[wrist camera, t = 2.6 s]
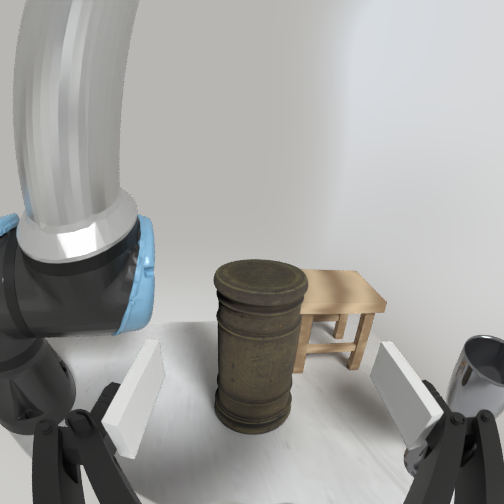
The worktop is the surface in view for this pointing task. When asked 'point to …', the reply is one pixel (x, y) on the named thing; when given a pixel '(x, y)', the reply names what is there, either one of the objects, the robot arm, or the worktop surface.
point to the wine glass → (472, 385)
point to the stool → (336, 313)
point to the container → (257, 342)
